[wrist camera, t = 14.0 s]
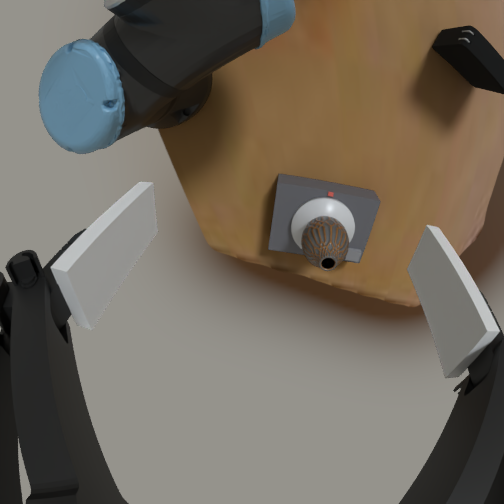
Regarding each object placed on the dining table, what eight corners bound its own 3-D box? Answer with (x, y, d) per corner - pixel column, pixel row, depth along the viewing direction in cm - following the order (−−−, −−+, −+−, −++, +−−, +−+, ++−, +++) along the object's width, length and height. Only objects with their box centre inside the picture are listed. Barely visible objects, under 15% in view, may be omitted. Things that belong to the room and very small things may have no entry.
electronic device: (472, 87, 28) (508, 96, 20) (430, 46, 27) (462, 44, 18) (481, 70, 26) (517, 76, 18) (439, 30, 24) (472, 24, 16)
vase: (318, 200, 40) (324, 231, 33) (353, 224, 41) (364, 259, 34) (292, 233, 44) (291, 268, 37) (326, 254, 45) (331, 291, 38)
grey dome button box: (270, 236, 51) (267, 252, 46) (278, 173, 43) (277, 185, 39) (355, 250, 50) (360, 266, 46) (374, 190, 43) (382, 204, 38)
